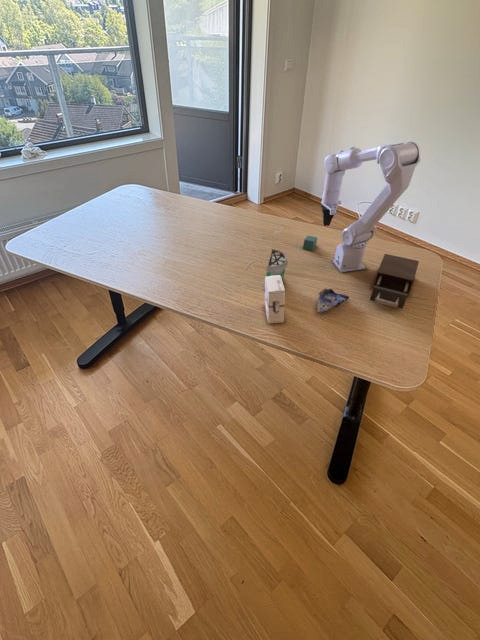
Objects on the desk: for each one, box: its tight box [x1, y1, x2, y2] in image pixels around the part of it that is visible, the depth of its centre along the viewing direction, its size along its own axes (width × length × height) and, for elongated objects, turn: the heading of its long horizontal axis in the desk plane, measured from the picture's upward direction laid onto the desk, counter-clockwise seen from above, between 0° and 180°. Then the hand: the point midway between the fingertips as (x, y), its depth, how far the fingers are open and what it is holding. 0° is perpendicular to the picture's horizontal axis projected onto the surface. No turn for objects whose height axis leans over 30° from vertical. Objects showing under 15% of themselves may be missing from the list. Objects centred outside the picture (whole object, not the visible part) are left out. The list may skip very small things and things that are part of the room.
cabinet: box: [372, 253, 420, 298], centre depth 117 cm, size 13×11×7 cm
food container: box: [266, 248, 288, 282], centre depth 116 cm, size 12×6×10 cm, turn 168°
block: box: [302, 235, 318, 252], centre depth 137 cm, size 4×4×4 cm
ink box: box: [264, 275, 286, 324], centre depth 103 cm, size 9×5×12 cm, turn 5°
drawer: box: [369, 274, 410, 310], centre depth 110 cm, size 17×10×5 cm, turn 152°
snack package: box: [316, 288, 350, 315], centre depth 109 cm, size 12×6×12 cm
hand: (326, 225), depth 132 cm, fingers closed
